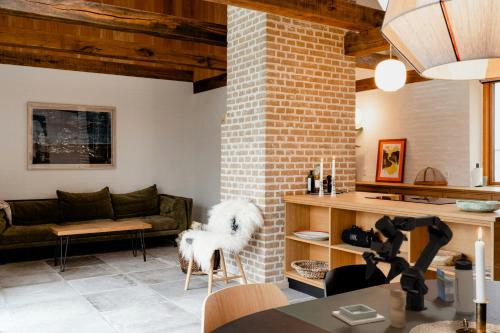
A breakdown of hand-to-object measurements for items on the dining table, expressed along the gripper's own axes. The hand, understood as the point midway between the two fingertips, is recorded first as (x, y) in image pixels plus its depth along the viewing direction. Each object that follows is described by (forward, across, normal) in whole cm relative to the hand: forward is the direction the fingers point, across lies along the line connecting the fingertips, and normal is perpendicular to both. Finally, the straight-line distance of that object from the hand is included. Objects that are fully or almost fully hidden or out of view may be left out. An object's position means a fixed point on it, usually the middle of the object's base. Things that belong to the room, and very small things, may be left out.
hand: (376, 280), depth 175 cm
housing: (+13, -6, +7) cm, 16 cm away
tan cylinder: (+11, +9, +10) cm, 17 cm away
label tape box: (-16, 0, +42) cm, 45 cm away
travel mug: (-8, +15, +33) cm, 38 cm away
